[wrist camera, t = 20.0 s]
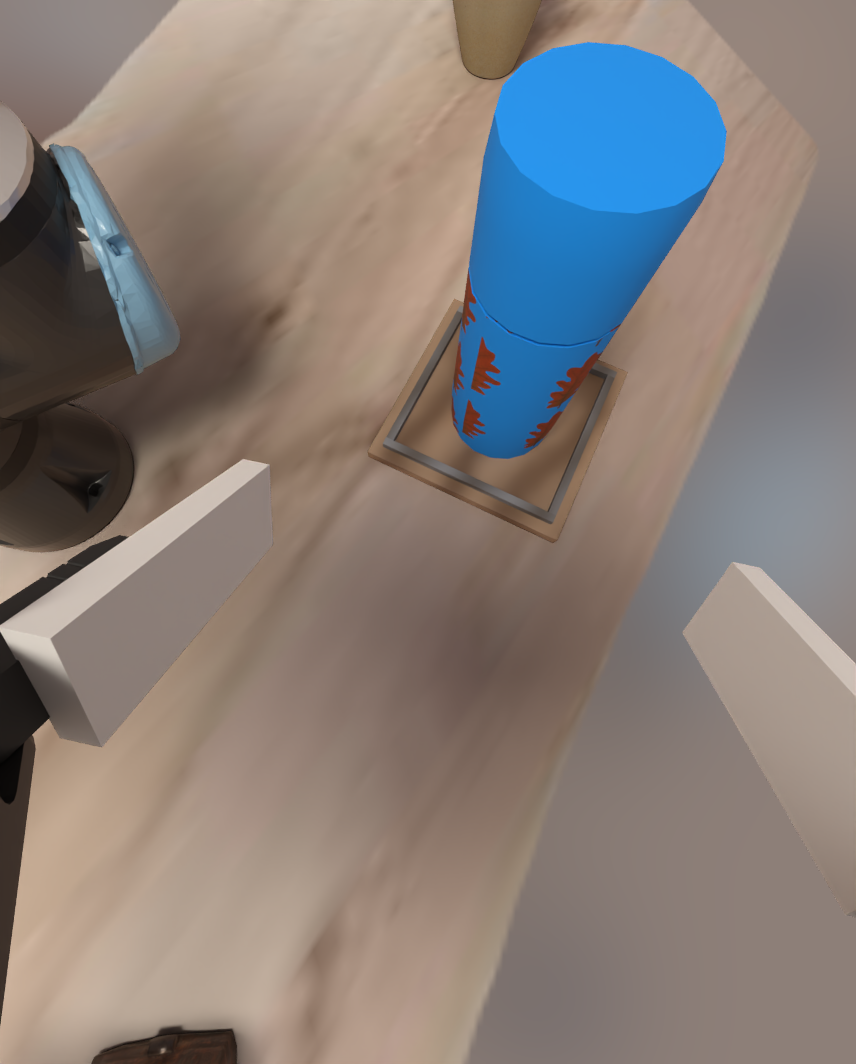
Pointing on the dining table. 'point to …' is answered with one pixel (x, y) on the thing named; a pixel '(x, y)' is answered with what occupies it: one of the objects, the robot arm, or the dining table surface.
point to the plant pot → (493, 33)
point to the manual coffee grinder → (175, 1050)
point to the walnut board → (487, 483)
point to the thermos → (572, 227)
